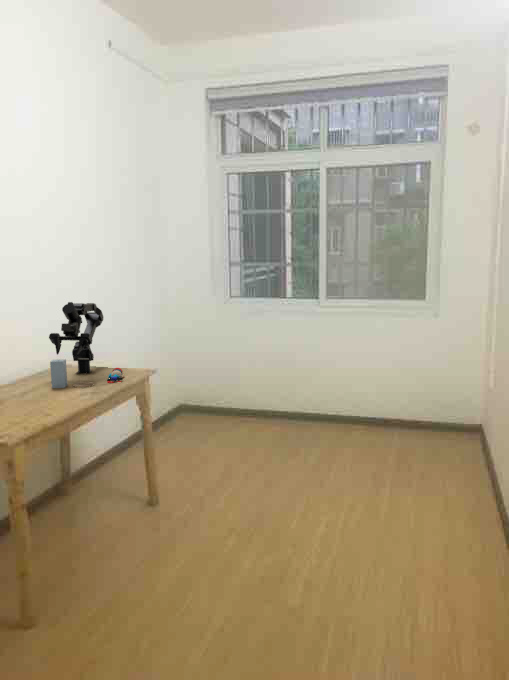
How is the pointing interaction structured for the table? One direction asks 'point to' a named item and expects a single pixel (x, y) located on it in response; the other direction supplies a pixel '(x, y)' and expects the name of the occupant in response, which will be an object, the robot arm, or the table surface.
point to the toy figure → (115, 375)
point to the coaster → (83, 384)
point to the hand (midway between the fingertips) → (67, 354)
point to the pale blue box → (58, 373)
